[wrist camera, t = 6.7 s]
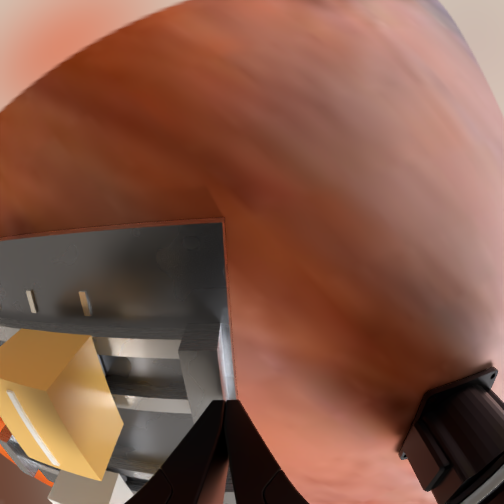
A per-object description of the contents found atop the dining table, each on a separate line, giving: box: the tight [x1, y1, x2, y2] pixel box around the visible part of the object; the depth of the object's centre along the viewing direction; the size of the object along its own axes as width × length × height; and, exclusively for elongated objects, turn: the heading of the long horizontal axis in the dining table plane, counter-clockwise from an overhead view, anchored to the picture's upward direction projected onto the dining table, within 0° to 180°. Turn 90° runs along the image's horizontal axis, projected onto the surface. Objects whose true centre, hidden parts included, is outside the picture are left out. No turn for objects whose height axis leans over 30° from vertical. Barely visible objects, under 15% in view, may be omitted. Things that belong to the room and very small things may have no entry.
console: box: [0, 217, 238, 504], centre depth 11 cm, size 17×20×3 cm
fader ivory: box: [48, 470, 134, 504], centre depth 10 cm, size 4×4×5 cm
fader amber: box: [0, 328, 124, 481], centre depth 8 cm, size 4×4×5 cm
